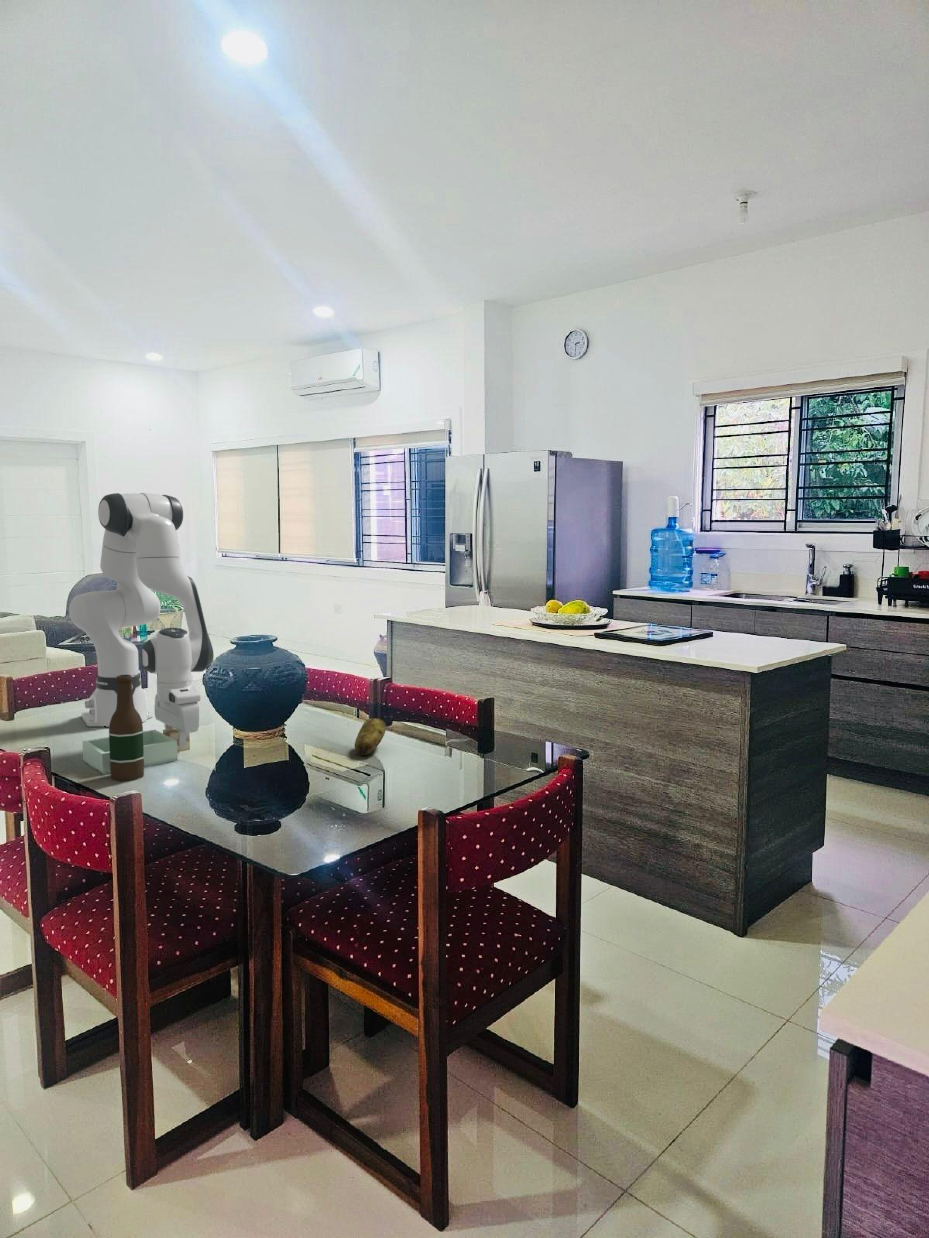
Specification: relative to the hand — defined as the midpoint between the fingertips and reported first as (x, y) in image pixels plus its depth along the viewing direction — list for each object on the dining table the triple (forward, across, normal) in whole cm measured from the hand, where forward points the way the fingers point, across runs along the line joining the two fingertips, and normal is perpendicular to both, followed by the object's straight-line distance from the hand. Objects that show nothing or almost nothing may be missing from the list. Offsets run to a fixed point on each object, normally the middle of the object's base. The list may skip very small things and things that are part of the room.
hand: (176, 742), depth 213 cm
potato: (+2, +33, +38) cm, 50 cm away
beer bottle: (+2, +15, -18) cm, 24 cm away
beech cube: (+2, 0, 0) cm, 2 cm away
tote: (+2, +3, -13) cm, 13 cm away
